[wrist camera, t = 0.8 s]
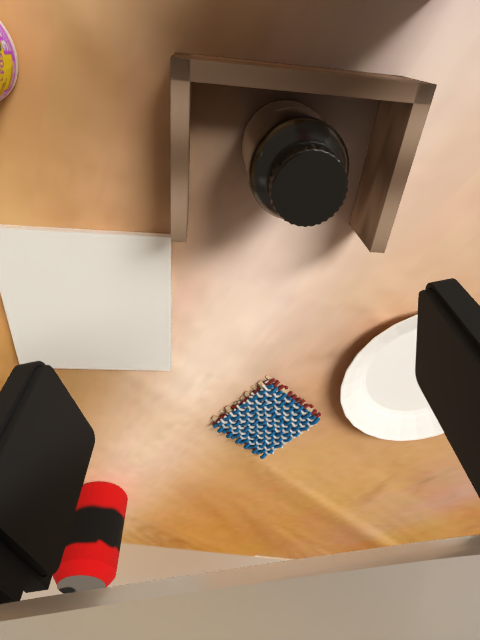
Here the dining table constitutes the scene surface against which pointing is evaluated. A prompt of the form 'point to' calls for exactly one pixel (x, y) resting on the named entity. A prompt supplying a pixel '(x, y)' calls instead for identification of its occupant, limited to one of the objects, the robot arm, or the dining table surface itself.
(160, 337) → the white square board
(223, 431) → the woven mat
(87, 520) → the soda can
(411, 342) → the plate
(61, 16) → the dining table surface
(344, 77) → the shelf bay
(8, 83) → the supplement bottle
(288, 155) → the supplement bottle
